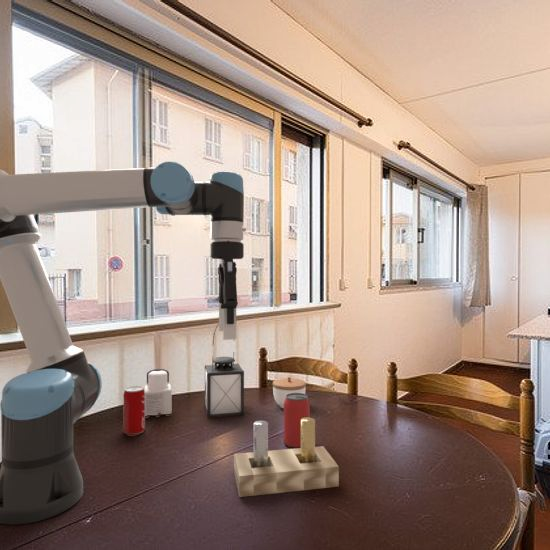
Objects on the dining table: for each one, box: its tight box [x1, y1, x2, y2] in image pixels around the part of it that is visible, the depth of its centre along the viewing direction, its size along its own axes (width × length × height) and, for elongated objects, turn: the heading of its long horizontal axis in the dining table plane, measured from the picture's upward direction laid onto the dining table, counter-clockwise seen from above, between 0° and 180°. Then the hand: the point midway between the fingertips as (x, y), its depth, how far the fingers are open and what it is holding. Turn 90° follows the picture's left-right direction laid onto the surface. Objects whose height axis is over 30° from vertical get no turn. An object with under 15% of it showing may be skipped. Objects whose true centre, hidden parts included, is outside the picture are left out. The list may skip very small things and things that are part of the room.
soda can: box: [122, 385, 146, 435], centre depth 111 cm, size 6×6×12 cm
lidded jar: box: [272, 376, 307, 410], centre depth 133 cm, size 11×11×9 cm
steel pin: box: [252, 420, 269, 468], centre depth 85 cm, size 3×3×12 cm
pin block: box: [233, 445, 340, 498], centre depth 86 cm, size 20×10×4 cm, turn 101°
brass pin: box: [301, 417, 316, 464], centre depth 87 cm, size 3×3×12 cm
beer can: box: [283, 393, 311, 449], centre depth 104 cm, size 7×7×12 cm
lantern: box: [204, 323, 245, 418], centre depth 129 cm, size 11×11×28 cm
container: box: [144, 368, 173, 416], centre depth 127 cm, size 8×8×13 cm
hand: (227, 334), depth 94 cm, fingers open, 13 cm apart
